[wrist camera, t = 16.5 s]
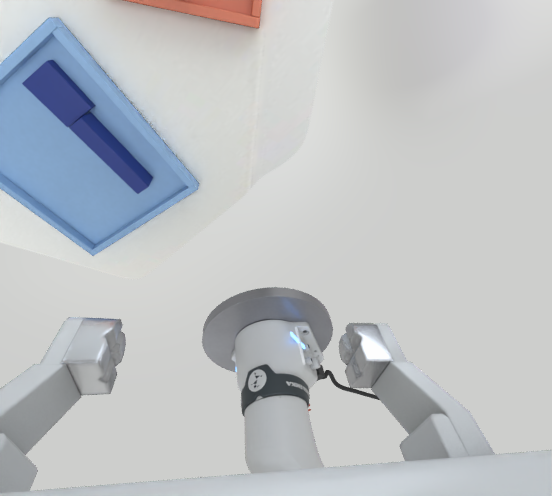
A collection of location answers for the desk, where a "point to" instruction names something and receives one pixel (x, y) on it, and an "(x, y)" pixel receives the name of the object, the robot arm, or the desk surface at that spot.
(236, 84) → the desk surface
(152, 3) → the red tray
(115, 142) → the navy stepped bar
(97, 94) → the blue tray
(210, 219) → the desk surface
